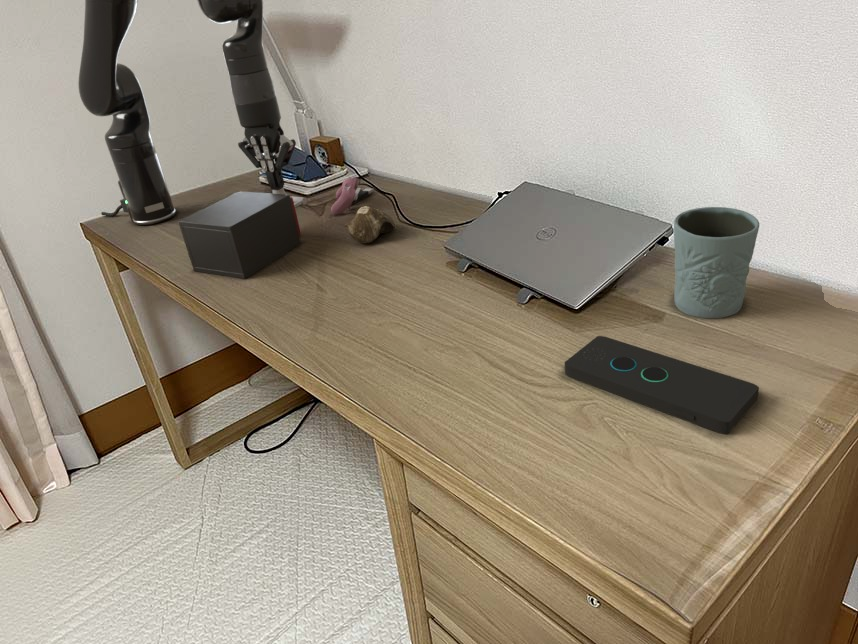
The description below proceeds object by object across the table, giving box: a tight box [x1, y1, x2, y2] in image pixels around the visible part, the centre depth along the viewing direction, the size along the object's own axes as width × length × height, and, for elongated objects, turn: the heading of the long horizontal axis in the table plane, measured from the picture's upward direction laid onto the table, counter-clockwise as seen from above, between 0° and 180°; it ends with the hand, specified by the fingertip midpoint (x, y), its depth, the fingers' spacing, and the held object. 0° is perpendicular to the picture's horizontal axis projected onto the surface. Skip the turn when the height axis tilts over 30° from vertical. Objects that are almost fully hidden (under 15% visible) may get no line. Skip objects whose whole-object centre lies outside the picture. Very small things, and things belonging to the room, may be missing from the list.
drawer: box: [290, 196, 308, 238], centre depth 131 cm, size 21×12×8 cm, turn 150°
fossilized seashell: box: [344, 205, 397, 244], centre depth 129 cm, size 8×7×10 cm
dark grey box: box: [177, 190, 302, 280], centre depth 127 cm, size 16×13×10 cm
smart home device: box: [564, 335, 760, 435], centre depth 79 cm, size 8×2×20 cm
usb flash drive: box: [351, 187, 375, 205], centre depth 152 cm, size 9×5×1 cm, turn 147°
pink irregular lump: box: [330, 176, 360, 216], centre depth 146 cm, size 10×5×7 cm, turn 179°
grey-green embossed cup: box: [673, 206, 760, 319], centre depth 91 cm, size 10×10×12 cm
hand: (277, 188), depth 134 cm, fingers closed
